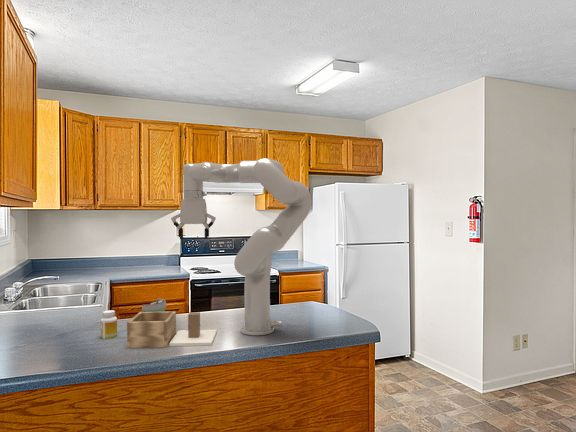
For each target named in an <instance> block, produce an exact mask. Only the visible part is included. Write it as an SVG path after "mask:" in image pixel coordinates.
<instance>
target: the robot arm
mask: <svg viewBox="0 0 576 432" xmlns="http://www.w3.org/2000/svg"><path fill="white" fill-rule="evenodd" d="M182 173H183V174H182V179H183V189H182V190H183V198H182V199H181V202H180V211H179V213H177V214H176V215H174V216H172V217H171V218H170V219H171V222H172V223H173V225H174V226H175V227H176V228H177V231H178V232H177V233H178V235H177V236H178V238H179V240H183V239H184V229H183V227H184V225H203V226H204V227H205V228H204V239H205V240H208V238H209V237H210V228H211V227H212V226H213V225H214V223H215V221H216V219H217V218H216V216H213V215H212V214H209V213H208V211H207V210H208V209H207V203H206V198H204V197H205V196H207V195H208V193H207V192H205V191H204V182H206V183H215V184H229V183H230V184H233V183H234V184H238V183H239V184H260V185H261V186H262V187H263V188H264V189H265V190H266V191H267V192H268V193H269V194H270V195H271V196H272V197H273V198H274V199H275V200H276V201H278V202H279V203H281V204H283V205H286V207H285V208H284V209H283V210H282V211H281V212H280V213H279V214H278V215H277V216H276V218H275V219H274V221H273V222H272V223H271V224H270V225H267V226H264V227H260V228H259V229H257V230H256V231H254V232H253V234H252V235H251V236H250V237H249V238H248V240H247V241H246V242H245V244H244V245H243V246H242V247H241V248H240V250H239V251H238V252H237V254H236V256H235V257H234V261H233V262H234V263H233V265H234V269H235V270H236V273H238V274H239V275H241V276H244V289H243V290H244V293H243V294H244V325H243V326H241V327H240V333H242V334H243V335H246V336H266V335H270V334H271V333H274V331H275V327H283V321H281V320H276V319H275V320H273V319H272V316H271V298H270V297H271V295H270V294H271V270H272V254H273V253H276V252H278V251H280V250H282V249H283V248H284V247H285V245H286V244H287V243H288V241H289V240H290V239H291V237H292V236H293V235H295V233H296V232H297V230H298V228H299V227H300V226H301V225H302V224H303V223H304V221H305V220H306V219H307V217H308V215H309V213H310V211H311V206H312V196H311V193H310V190H309V188H308V187H307V186H306V185H305V184H304V183H303V182H301V181H296V180H292V179H290V178H289V177H288V176H287V175H286V173H285V169H284V167H283V164H282V163H281V162H280V161H277V160H276V159H272V158H269V157H268V158H265V157H264V158H260V159H258V160H240V162H239V163H229V164H226V163H225V164H223V163H220V164H219V163H215V162H209V161H203V162H200V163H186V164H184V165H183V168H182ZM177 219H179V221H180V223H178V221H177ZM208 219H211V220H210V222H209V223H208Z"/></svg>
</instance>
